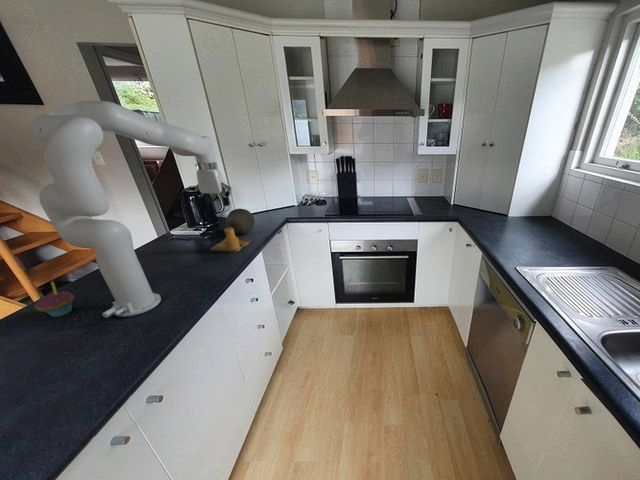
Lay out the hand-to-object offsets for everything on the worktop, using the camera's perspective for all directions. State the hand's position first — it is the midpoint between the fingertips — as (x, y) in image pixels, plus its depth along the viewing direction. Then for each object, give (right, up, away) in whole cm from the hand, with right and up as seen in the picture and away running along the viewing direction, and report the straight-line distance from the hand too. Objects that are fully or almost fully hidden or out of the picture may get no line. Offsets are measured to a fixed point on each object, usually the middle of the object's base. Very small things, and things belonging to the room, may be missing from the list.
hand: (217, 205), depth 126 cm
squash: (+1, -19, +11) cm, 22 cm away
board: (-2, -18, +16) cm, 25 cm away
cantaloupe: (-3, -11, +31) cm, 33 cm away
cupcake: (-32, -43, -34) cm, 63 cm away
